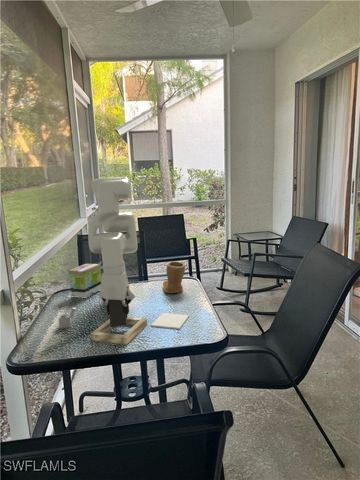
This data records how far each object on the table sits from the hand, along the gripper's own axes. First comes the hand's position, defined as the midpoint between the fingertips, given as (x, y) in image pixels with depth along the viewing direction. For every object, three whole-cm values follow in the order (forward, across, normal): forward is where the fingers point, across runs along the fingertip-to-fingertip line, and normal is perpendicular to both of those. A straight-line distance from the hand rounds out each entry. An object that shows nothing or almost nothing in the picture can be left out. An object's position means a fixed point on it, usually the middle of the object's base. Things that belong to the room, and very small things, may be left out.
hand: (118, 313), depth 127 cm
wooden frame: (+7, 0, -1) cm, 7 cm away
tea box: (+9, -41, +36) cm, 55 cm away
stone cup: (+8, +4, +49) cm, 50 cm away
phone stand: (+3, 0, 0) cm, 3 cm away
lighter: (+8, -24, -1) cm, 25 cm away
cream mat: (+7, +16, +12) cm, 22 cm away
